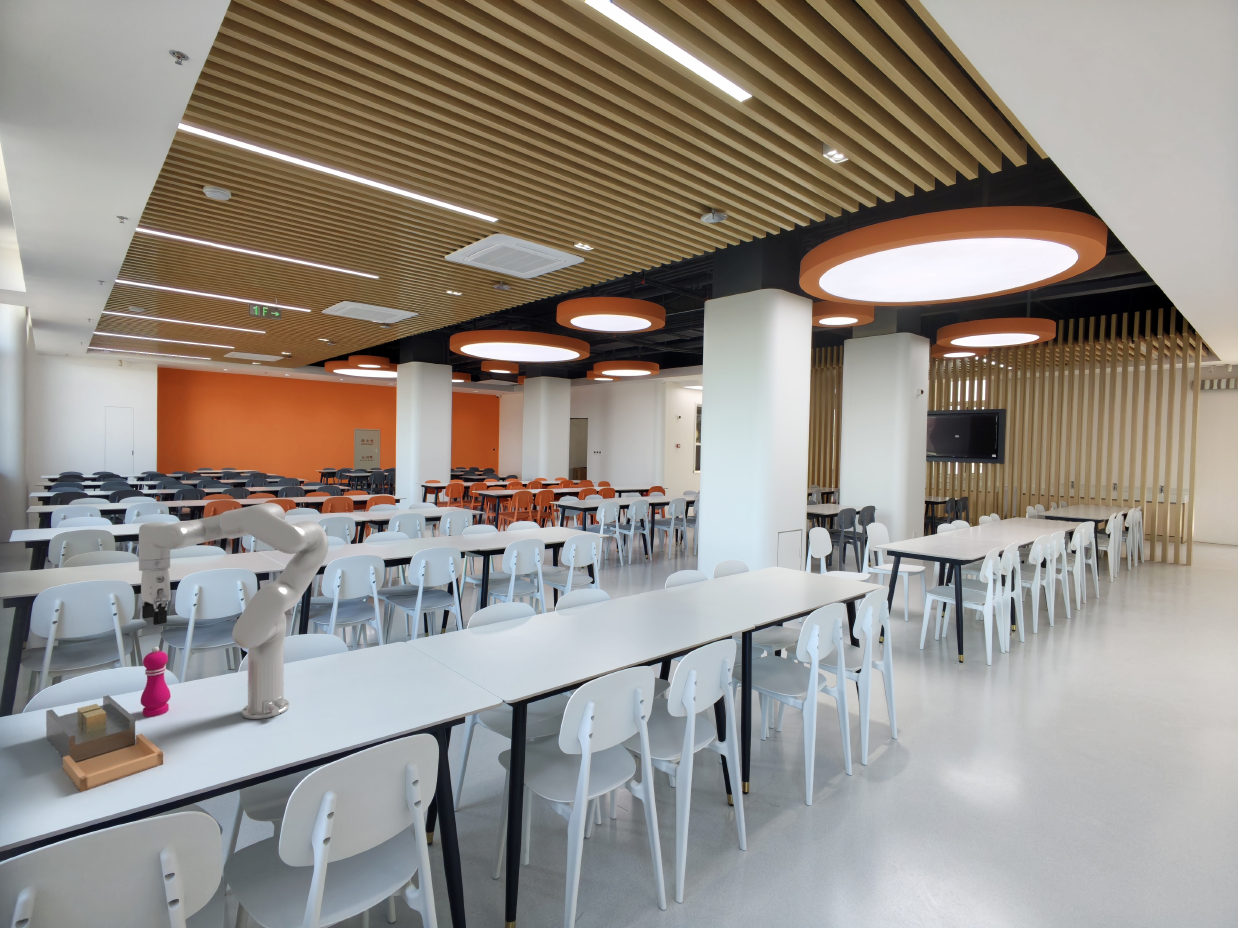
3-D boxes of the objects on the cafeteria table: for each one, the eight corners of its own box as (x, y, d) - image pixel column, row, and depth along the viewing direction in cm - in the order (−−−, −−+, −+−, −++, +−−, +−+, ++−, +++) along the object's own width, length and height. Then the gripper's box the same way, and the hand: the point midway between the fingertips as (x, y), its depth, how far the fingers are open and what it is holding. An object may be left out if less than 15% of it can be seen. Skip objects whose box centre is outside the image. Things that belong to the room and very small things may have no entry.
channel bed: (135, 745, 164) (135, 718, 163) (69, 766, 153) (69, 736, 153) (108, 720, 178) (108, 695, 178) (46, 737, 167) (46, 710, 167)
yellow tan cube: (100, 721, 166) (100, 707, 166) (81, 727, 163) (81, 712, 163) (96, 717, 169) (96, 703, 168) (77, 722, 165) (77, 708, 165)
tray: (163, 763, 155) (163, 752, 154) (80, 791, 142) (80, 779, 142) (141, 744, 164) (141, 733, 164) (62, 768, 151) (62, 756, 151)
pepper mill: (154, 718, 179) (154, 651, 179) (134, 716, 181) (133, 649, 180) (176, 708, 187) (176, 643, 186) (157, 706, 188) (156, 641, 187)
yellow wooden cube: (106, 727, 163) (106, 712, 163) (86, 732, 160) (86, 717, 160) (101, 722, 166) (101, 708, 165) (82, 728, 162) (82, 713, 162)
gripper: (180, 566, 180) (179, 623, 181) (159, 558, 191) (159, 612, 191) (149, 569, 174) (148, 629, 175) (129, 561, 185) (129, 617, 185)
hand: (154, 620), depth 183 cm, fingers open, 9 cm apart
